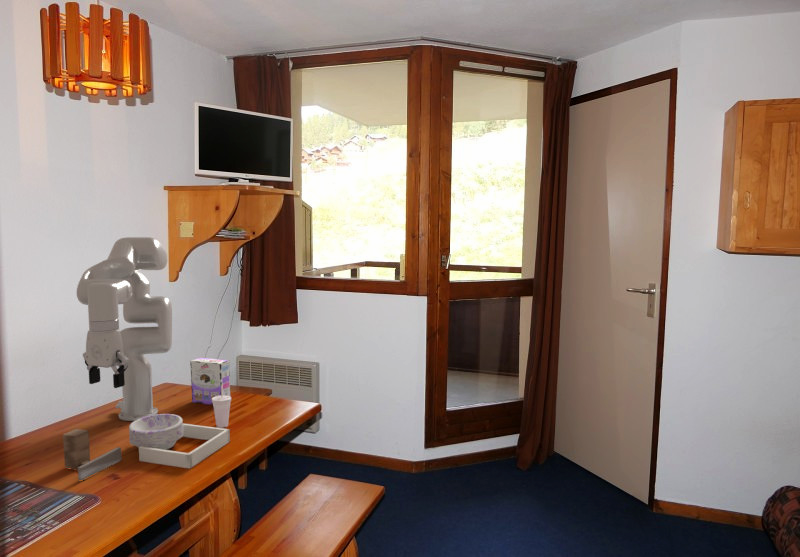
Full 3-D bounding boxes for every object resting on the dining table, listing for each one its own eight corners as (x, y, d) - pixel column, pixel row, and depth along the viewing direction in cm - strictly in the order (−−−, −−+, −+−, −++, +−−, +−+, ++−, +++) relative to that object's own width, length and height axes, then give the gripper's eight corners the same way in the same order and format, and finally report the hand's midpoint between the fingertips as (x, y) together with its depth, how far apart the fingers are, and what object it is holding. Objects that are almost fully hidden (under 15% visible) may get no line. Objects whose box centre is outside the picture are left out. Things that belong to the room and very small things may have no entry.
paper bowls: (130, 461, 163) (129, 434, 162) (129, 442, 177) (127, 417, 176) (186, 451, 170) (185, 426, 169) (180, 434, 184) (179, 410, 183)
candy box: (231, 401, 216) (230, 359, 214) (221, 406, 210) (220, 363, 208) (201, 397, 220) (200, 356, 218) (191, 402, 215) (189, 360, 213)
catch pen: (139, 460, 163) (138, 447, 163) (183, 435, 182) (183, 423, 182) (189, 468, 159) (189, 454, 158) (229, 441, 178) (229, 429, 177)
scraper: (50, 476, 153) (47, 441, 152) (91, 455, 167) (89, 422, 166) (82, 481, 150) (80, 445, 149) (121, 460, 164) (119, 426, 163)
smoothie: (235, 422, 194) (234, 383, 192) (227, 429, 188) (226, 388, 186) (217, 421, 195) (216, 382, 193) (209, 428, 188) (207, 388, 187)
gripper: (70, 325, 160) (74, 384, 161) (114, 330, 153) (117, 392, 155) (94, 321, 167) (97, 378, 168) (137, 326, 160) (139, 385, 161)
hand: (106, 384), depth 161 cm, fingers open, 9 cm apart
